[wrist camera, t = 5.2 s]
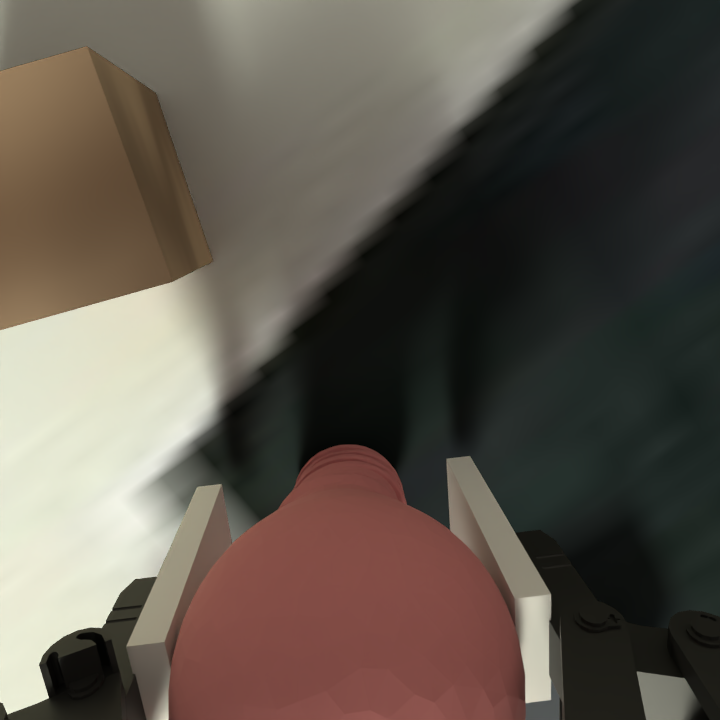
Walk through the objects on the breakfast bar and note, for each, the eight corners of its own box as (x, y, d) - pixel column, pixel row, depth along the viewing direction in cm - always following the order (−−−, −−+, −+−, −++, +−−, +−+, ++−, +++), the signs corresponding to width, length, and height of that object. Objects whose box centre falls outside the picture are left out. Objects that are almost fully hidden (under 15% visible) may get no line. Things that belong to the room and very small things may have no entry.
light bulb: (194, 450, 19) (0, 823, 8) (373, 344, 19) (458, 574, 7) (305, 597, 21) (286, 1077, 9) (471, 505, 20) (666, 896, 9)
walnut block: (-9, 140, 16) (-147, 113, 11) (156, 93, 16) (87, 46, 11) (61, 303, 18) (-36, 340, 13) (213, 261, 18) (172, 281, 13)
